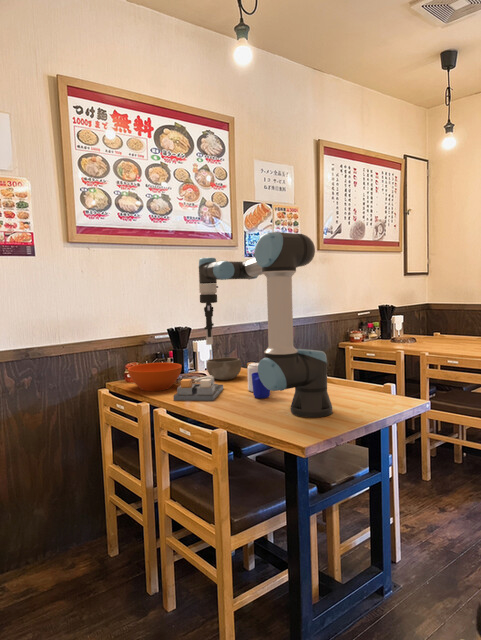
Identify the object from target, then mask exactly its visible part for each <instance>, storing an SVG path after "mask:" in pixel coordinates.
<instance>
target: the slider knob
mask: <svg viewBox="0 0 481 640" xmlns="http://www.w3.org/2000/svg"><path fill="white" fill-rule="evenodd" d="M205 377H206V376H205ZM206 379H211V385H214V384H215V379H214V377H206Z"/></svg>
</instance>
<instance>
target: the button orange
mask: <svg viewBox="0 0 481 640" xmlns="http://www.w3.org/2000/svg"><path fill="white" fill-rule="evenodd" d="M192 384H193V379H192V378H182V379H181V380H180V385H181V388H190V387H191V386H192Z"/></svg>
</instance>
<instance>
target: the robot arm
mask: <svg viewBox="0 0 481 640" xmlns="http://www.w3.org/2000/svg"><path fill="white" fill-rule="evenodd" d="M255 244H256V245H255V248H254V257H253V258H250V259H247V260H243V261H232V260H231V261H228V260H219V261H217V260H216V259H217V258H215V257H200V258H199V260H198V282H199V284H198V287H199V289H198V290H199V294H200V295H199V303H200V304H205V307H204V308H203V312H204V317H205V327H204V330H205V339H206V340H205V343H206V345H207V346H209V345H211V346H212V345H213V344H214V343H213V342H214V341H213V340H214V338H213V336H214V333H213V332H214V331H213V327H214V326H215V325H214V323H213V317H214V306H213V305H212V304H216V303H218V294H217V293H218V292H217V291H218V288H219V286H218V284H217V282H218V280H220V281H226V280H227V281H228V280H254V279H257V278H258V277H259V276H261V275H262V276H263V275H264V276H265V278H266V297H267V298H266V299H267V302H266V303H267V304H266V305H267V334H268V335H267V339H268V347H267V348H266V349H265V350H264V351H263V353H264V355H263V358H262V359H260V360H259V362H258V363H259V364H258V375H259V378H260V380H261V382H262V383H263V385H264V386H265V387H266V388H267V389H268V390H270V392H277V391H278V392H279V391H281V392H282V391H285V390H289V389H294V394H293V397H292V400H291V404H290V413H291V414H292V415H294V416H297V417H300V418H301V417H302V418H309V419H310V418H325V417H327V416H331V415H332V414H333V405H332V402H331V399H330V396H329V393H328V359H327V354H326V353H325V351H322V350H317V349H316V350H314V349H308V348H307V349H305V348H296V347H295V346H294V320H293V319H294V317H293V316H294V315H293V280H292V279H293V278H292V277H293V276H294V275H295V273H297V268H298V267H305V266H307V265H309V264H311V262H312V261H313V260H314V257H315V254H316V247H315V244H314V242H313V240H312V239H311V238H310V237H309V236H308V235H305V234H303V233H295V232H294V233H293V232H283V231H282V232H281V231H280V232H279V231H271V232H265V233H264V234H262V235H261V236H260V237H259V240H257V242H256V243H255ZM330 414H331V415H330ZM324 416H325V417H324Z"/></svg>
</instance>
